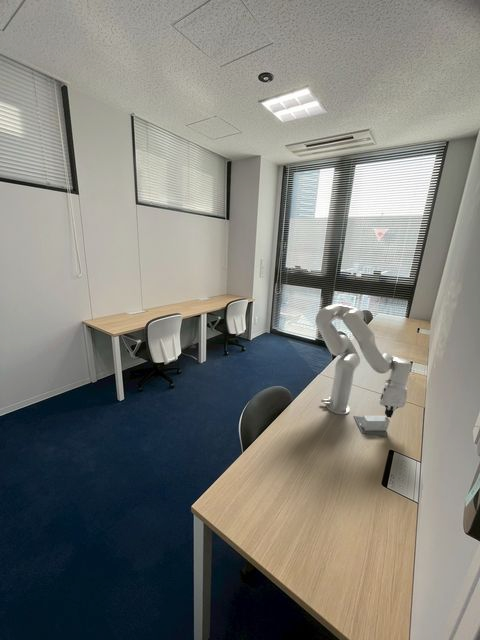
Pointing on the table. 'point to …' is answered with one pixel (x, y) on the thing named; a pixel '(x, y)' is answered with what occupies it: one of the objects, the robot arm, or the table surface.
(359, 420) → the mat
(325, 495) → the table surface
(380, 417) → the skincare box
